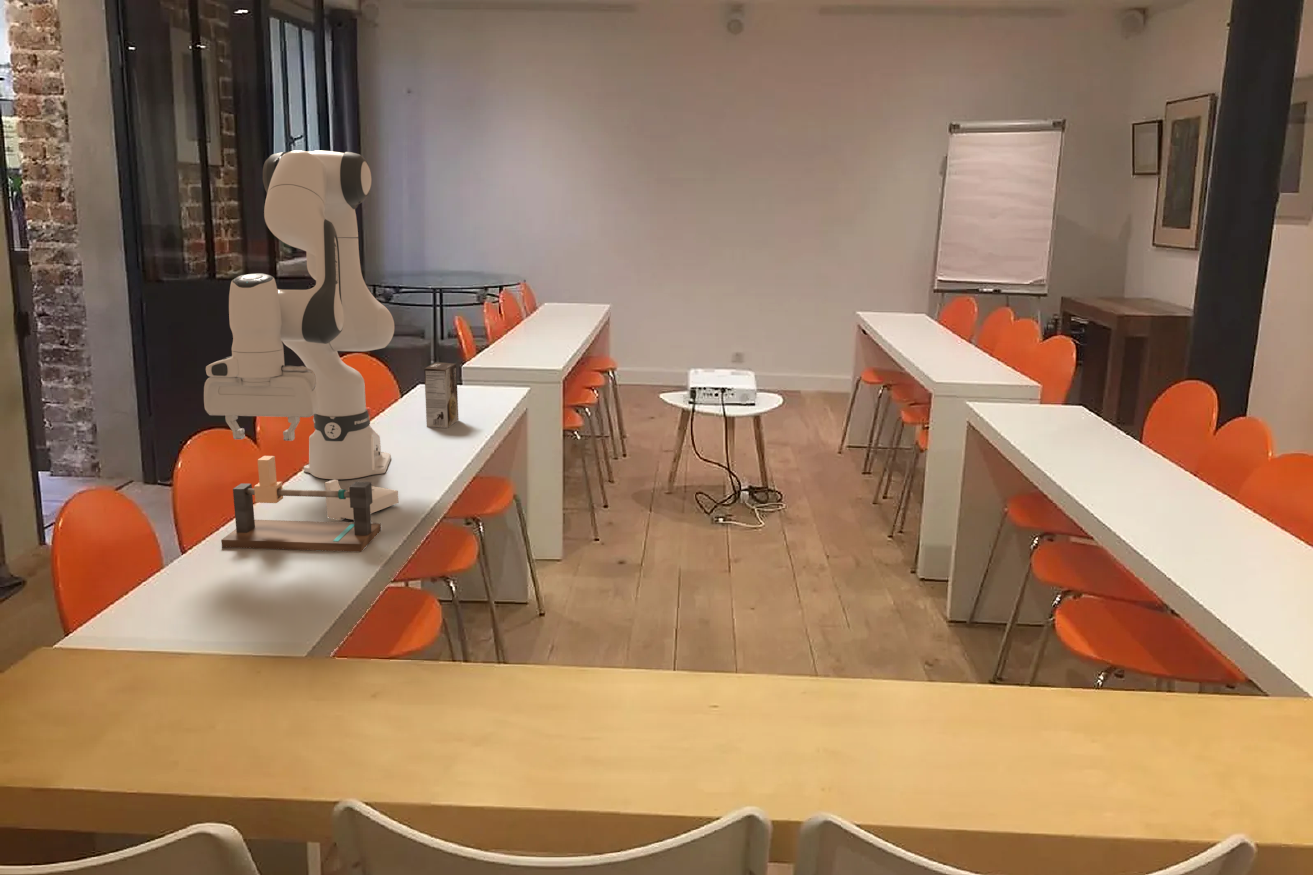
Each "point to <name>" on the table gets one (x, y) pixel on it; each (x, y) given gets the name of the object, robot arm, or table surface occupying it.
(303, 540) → the linear slide rail
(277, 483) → the orange l-shaped block
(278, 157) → the robot arm
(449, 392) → the coffee box
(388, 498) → the bracket
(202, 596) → the table surface
